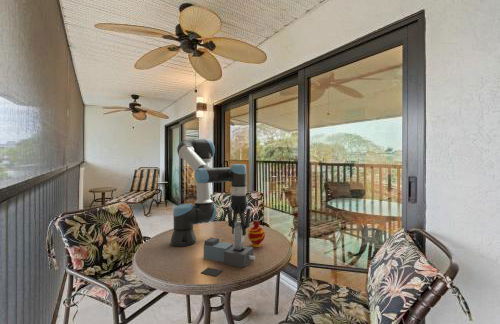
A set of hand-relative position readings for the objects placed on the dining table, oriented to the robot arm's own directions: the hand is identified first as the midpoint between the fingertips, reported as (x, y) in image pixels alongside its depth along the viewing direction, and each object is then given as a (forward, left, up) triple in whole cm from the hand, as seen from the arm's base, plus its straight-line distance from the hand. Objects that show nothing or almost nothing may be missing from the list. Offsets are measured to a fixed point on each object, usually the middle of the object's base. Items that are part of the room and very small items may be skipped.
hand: (238, 240), depth 129 cm
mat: (-6, -16, -10) cm, 20 cm away
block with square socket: (-6, 0, -10) cm, 12 cm away
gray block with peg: (0, 0, -4) cm, 4 cm away
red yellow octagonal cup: (-1, +25, -11) cm, 27 cm away
